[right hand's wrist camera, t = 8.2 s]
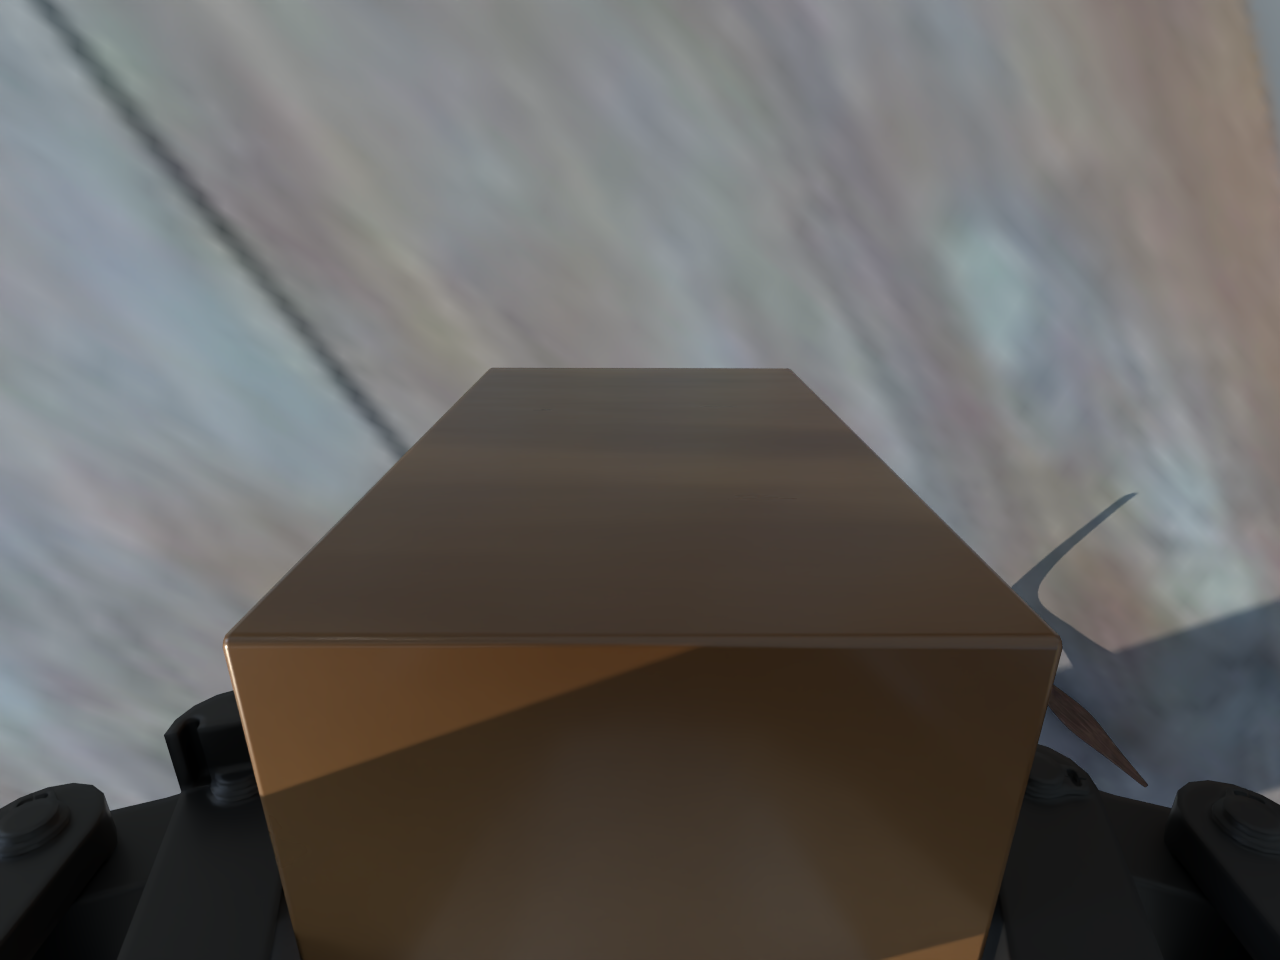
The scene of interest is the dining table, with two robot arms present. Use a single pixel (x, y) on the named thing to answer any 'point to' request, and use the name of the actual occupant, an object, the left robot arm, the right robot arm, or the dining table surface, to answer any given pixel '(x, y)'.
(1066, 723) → the fork
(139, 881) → the right robot arm
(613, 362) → the dining table surface
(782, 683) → the box
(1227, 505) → the dining table surface
